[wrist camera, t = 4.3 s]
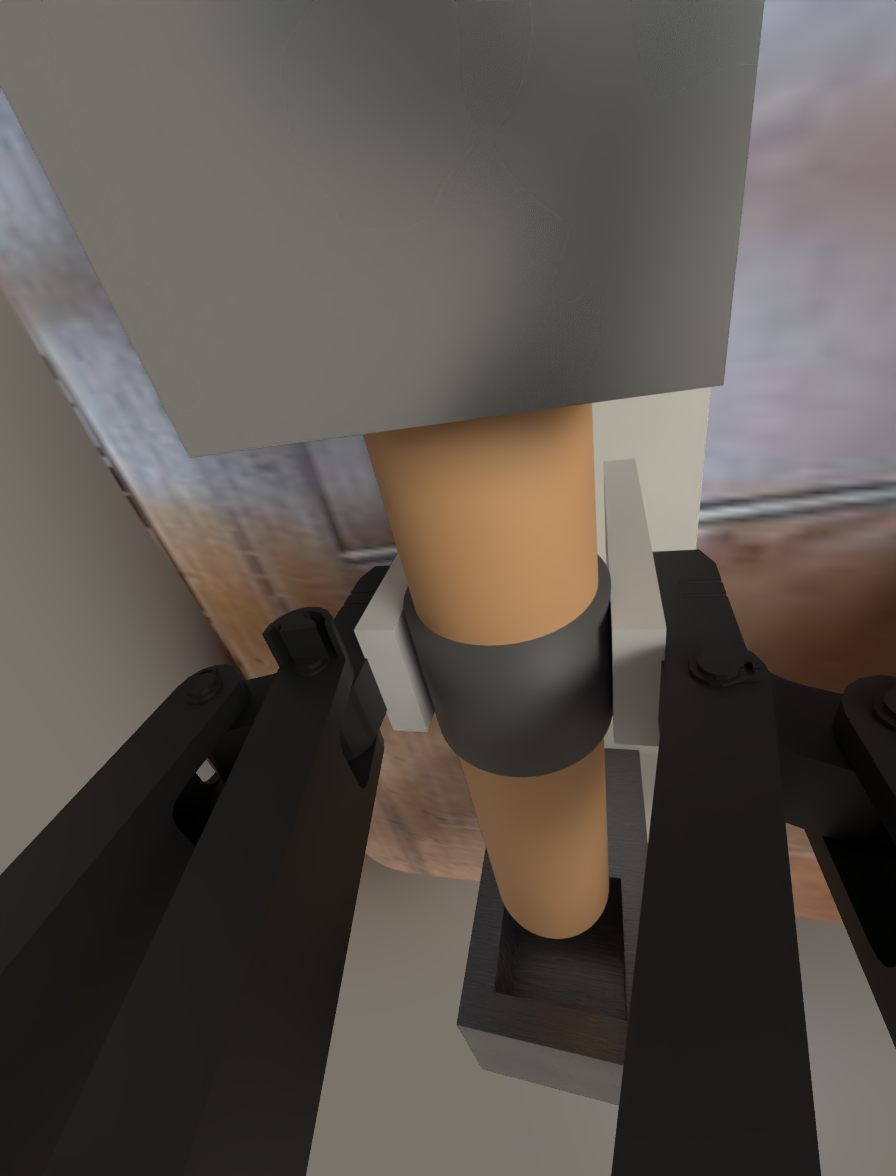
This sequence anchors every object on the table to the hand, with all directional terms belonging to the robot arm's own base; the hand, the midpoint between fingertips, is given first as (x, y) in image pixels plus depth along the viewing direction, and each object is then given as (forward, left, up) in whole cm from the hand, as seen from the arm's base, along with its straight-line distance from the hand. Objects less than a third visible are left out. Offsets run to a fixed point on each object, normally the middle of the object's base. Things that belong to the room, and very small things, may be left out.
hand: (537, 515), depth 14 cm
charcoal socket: (+15, 0, -2) cm, 16 cm away
